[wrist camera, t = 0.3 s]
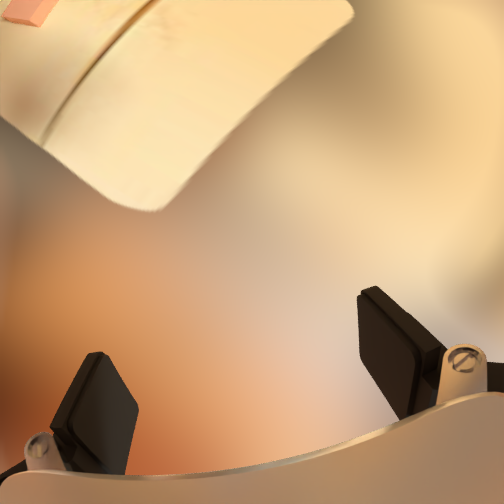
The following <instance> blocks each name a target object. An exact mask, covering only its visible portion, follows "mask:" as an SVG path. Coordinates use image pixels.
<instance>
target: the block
mask: <svg viewBox="0 0 504 504" xmlns="http://www.w3.org/2000/svg"><path fill="white" fill-rule="evenodd" d="M58 1H59V0H12V1H11V2H10V4H9V5H8V7H7V8H6V10H5V11H4V13H3V14H2V16H1V17H3V18H5V19H7V20H9V21H11V22H14V23H20V24H25V25H30V26H35V27H41V25H42V24H43V22H44V21H45V19H46V18H47V16H48V15H49V13H50V12H51V11H52V9H53V8H54V6H55V5H56V4H57V2H58Z"/></svg>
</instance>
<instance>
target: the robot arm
mask: <svg viewBox="0 0 504 504" xmlns="http://www.w3.org/2000/svg"><path fill="white" fill-rule="evenodd" d="M357 308H358V327H359V352H360V358H361V360H362V362H363V364H364V366H365V367H366V369H367V370H368V372H369V373H370V375H371V376H372V378H373V379H374V381H375V382H376V384H377V385H378V387H379V389H380V390H381V391H382V393H383V395H384V396H385V397H386V399H387V401H388V402H389V404H390V406H391V407H392V409H393V411H394V412H395V414H396V415H397V417H398V418H399V420H400V421H398V422H395V423H393V424H391V425H388V426H386V427H383V428H381V429H379V430H376V431H373V432H370V433H368V434H365V435H363V436H360V437H357V438H354V439H351V440H349V441H345V442H342V443H339V444H336V445H333V446H330V447H327V448H324V449H320V450H317V451H314V452H310V453H306V454H302V455H298V456H295V457H290V458H286V459H282V460H277V461H273V462H268V463H263V464H258V465H253V466H247V467H241V468H234V469H228V470H220V471H212V472H202V473H191V474H176V475H147V476H146V475H145V476H144V475H143V476H142V475H141V476H139V475H138V476H137V475H125V470H126V465H127V460H128V456H129V451H130V446H131V442H132V438H133V433H134V429H135V425H136V421H137V416H138V412H139V409H138V404H137V402H136V401H135V399H134V398H133V396H132V395H131V393H130V392H129V390H128V388H127V387H126V385H125V383H124V382H123V380H122V378H121V377H120V375H119V373H118V372H117V370H116V368H115V366H114V365H113V363H112V361H111V359H110V358H109V356H108V355H105V354H104V353H103V352H94V353H89V354H88V355H87V356H86V358H85V360H84V361H83V363H82V365H81V367H80V369H79V370H78V372H77V374H76V376H75V378H74V380H73V382H72V383H71V385H70V387H69V389H68V391H67V393H66V395H65V397H64V398H63V400H62V402H61V404H60V406H59V408H58V410H57V413H56V414H55V416H54V418H53V421H52V423H51V425H50V428H51V429H52V430H53V432H54V434H53V436H52V435H51V434H49V433H46V432H41V433H38V434H35V435H34V436H33V437H31V438H30V439H29V440H28V442H27V443H26V445H25V449H24V454H25V460H23V461H22V462H20V463H19V464H17V465H16V466H14V467H12V468H10V469H9V470H7V471H5V472H4V473H2V474H1V475H0V504H504V363H494V362H487V360H486V355H485V354H484V352H483V351H482V350H481V349H480V348H478V347H476V346H474V345H471V344H458V345H455V346H453V347H451V348H449V349H447V348H446V347H445V346H444V345H443V344H442V343H440V342H439V341H438V340H437V339H436V338H435V337H434V336H433V335H432V334H431V333H430V332H429V331H428V330H427V329H426V328H424V326H422V325H421V324H420V323H419V322H418V321H417V320H416V319H415V318H414V317H413V316H412V315H410V314H409V313H407V312H406V311H405V310H404V309H402V308H401V307H400V306H399V305H398V304H397V303H396V302H395V301H394V300H392V299H391V298H390V297H389V296H388V295H387V294H386V293H384V292H383V291H382V290H381V289H380V288H379V287H377V286H373V287H370V288H367V289H364V290H362V291H361V295H358V296H357Z"/></svg>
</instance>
